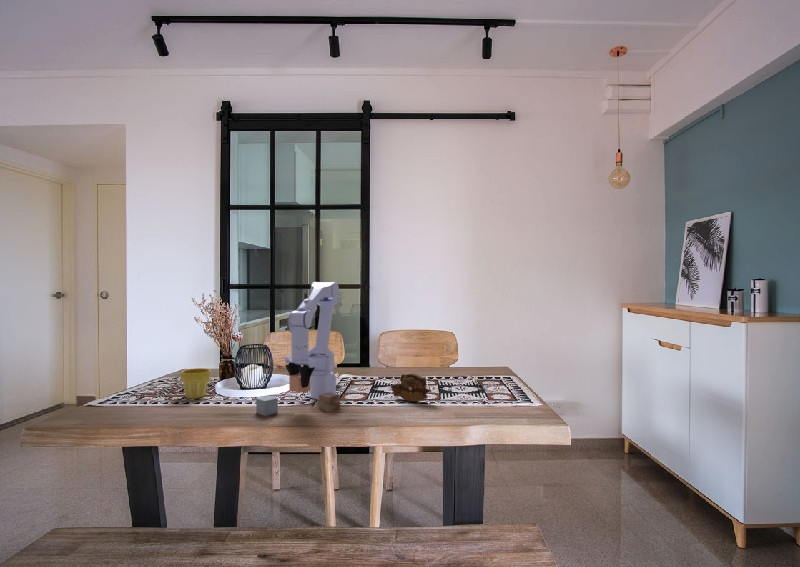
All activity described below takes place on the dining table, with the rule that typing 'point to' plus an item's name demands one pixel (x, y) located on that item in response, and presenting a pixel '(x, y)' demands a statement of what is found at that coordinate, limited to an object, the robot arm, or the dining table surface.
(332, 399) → the walnut block
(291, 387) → the terracotta block
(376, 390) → the dining table surface
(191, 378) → the plant pot
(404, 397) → the wooden carving
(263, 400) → the slate block
